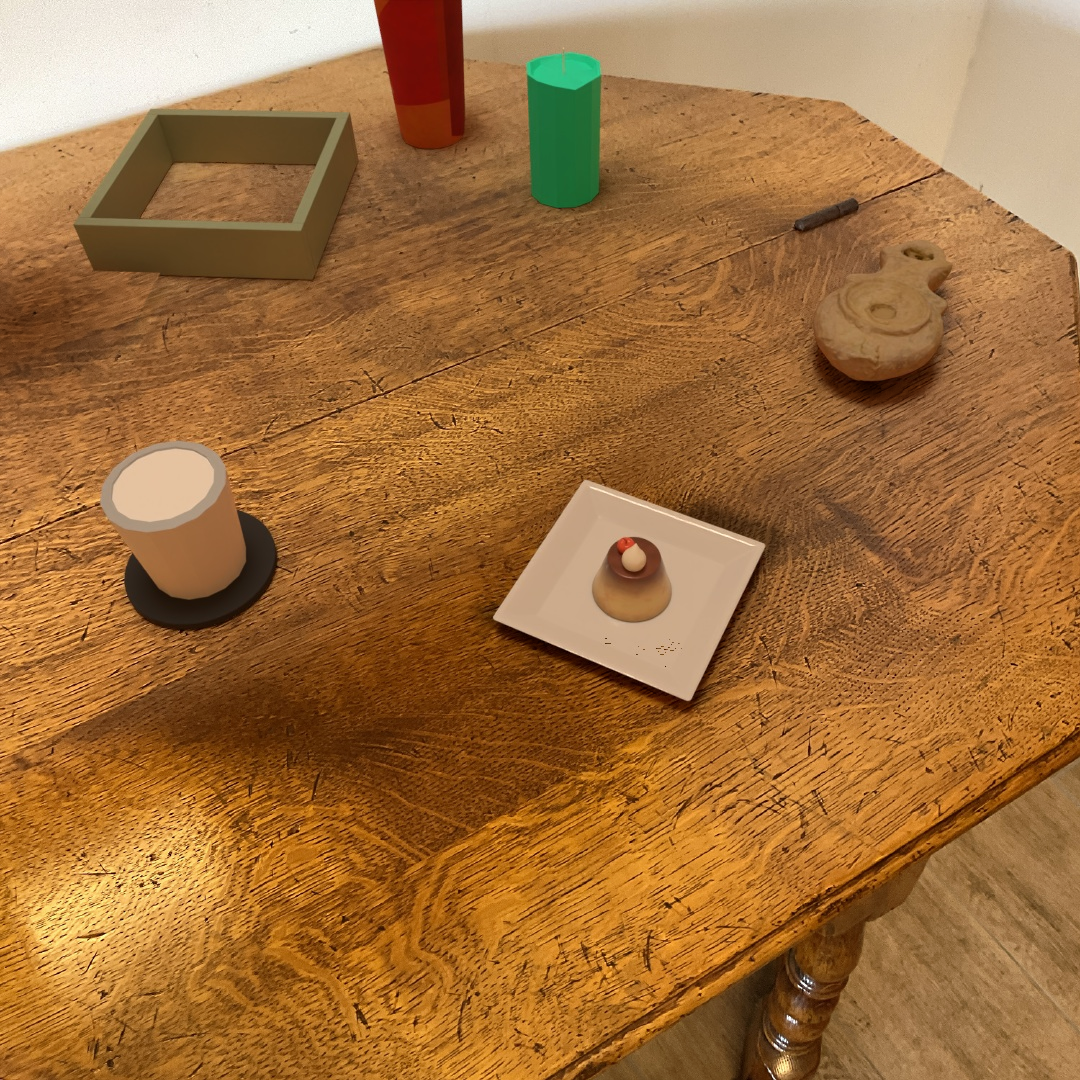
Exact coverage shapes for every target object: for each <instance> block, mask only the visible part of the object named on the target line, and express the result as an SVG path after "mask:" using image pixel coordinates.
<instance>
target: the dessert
mask: <svg viewBox="0 0 1080 1080" xmlns="http://www.w3.org/2000/svg"><path fill="white" fill-rule="evenodd" d="M765 548H766V544H765V543H764V542H761V541H758V540H755V539H753V538H750V537H748V536H744V535H742V534H738V533H737V532H734V531H730V530H727V529H725V528H722V527H719V526H717V525H714V524H711V523H709V522H705V521H703V520H699V519H697V518H694V517H692V516H689V515H687V514H683V513H680V512H677V511H674V510H672V509H670V508H666V507H664V506H660V505H658V504H655V503H653V502H650V501H647V500H644V499H641V498H639V497H636V496H633V495H631V494H627V493H626V492H621V491H619V490H616V489H614V488H611V487H608V486H606V485H602V484H600V483H597V482H594V481H591V480H589V479H584V480H583V481H582V482H581V484H580V486H579V487H578V488H577V490H576V491H575V493H574V494H573V495H572V498H571V499H570V500H569V502H568V504H567V505H566V506H565V508H564V509H563V511H562V512H561V514H560V515H559V516H558V518H557V520H556V521H555V523H554V524H553V526H552V527H551V529H550V530H549V532H548V534H547V535H546V536H545V538H544V539H543V541H542V542H541V544H540V545H539V546H538V548H537V550H536V552H534V554H533V556H532V557H531V559H530V560H529V562H528V564H527V565H526V566H525V568H524V569H523V571H522V572H521V574H520V576H519V577H518V578H517V580H516V582H515V583H514V585H513V586H512V587H511V588H510V590H509V592H508V594H507V595H506V596H505V598H504V600H503V601H502V603H500V606H499V607H498V609H497V610H496V612H495V613H494V615H493V616H492V619H493V620H494V621H496V622H498V623H501V624H503V625H506V626H508V627H511V628H513V629H515V630H517V631H520V632H522V633H525V634H527V635H529V636H532V637H534V638H536V639H539V640H541V641H544V642H545V643H549V644H551V645H553V646H556V647H558V648H560V649H563V650H565V651H568V652H570V653H572V654H574V655H576V656H580V657H582V658H584V659H586V660H588V661H591V662H594V663H596V664H598V665H601V666H603V667H605V668H608V669H610V670H613V671H615V672H618V673H619V674H622V675H624V676H626V677H629V678H631V679H634V680H637V681H639V682H641V683H643V684H646V685H648V686H651V687H653V688H655V689H657V690H661V691H662V692H664V693H667V694H669V695H672V696H675V697H676V698H679V699H682V700H684V701H686V702H690V701H691V700H692V699H693V696H694V694H695V692H696V690H697V688H698V687H699V684H700V682H701V680H702V678H703V676H704V674H705V671H706V670H707V668H708V665H709V664H710V662H711V659H712V658H713V655H714V653H715V651H716V649H717V648H718V645H719V643H720V641H721V639H722V636H723V635H724V632H725V631H726V628H727V626H728V624H729V623H730V620H731V618H732V616H733V614H734V612H735V609H736V608H737V606H738V604H739V602H740V599H741V597H742V595H743V593H744V591H745V589H746V587H747V585H748V583H749V581H750V579H751V577H752V576H753V572H754V571H755V569H756V566H757V564H758V563H759V561H760V559H761V557H762V554H763V552H764V550H765ZM605 638H607V639H605ZM669 639H670V640H669ZM672 642H674V643H672ZM605 643H611V644H605ZM678 643H680V644H678ZM671 644H672V645H671ZM638 646H639V647H638ZM661 646H664V647H661ZM668 647H670V648H668ZM656 648H661V649H656ZM675 648H676V649H675ZM681 648H682V649H681ZM643 649H645V650H643ZM664 649H668V650H664ZM670 650H674V651H670ZM658 651H659V652H658ZM665 652H666V653H665ZM636 654H638V655H636ZM660 654H664V655H660ZM665 666H666V667H665Z"/></svg>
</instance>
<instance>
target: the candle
mask: <svg viewBox="0 0 1080 1080" xmlns="http://www.w3.org/2000/svg"><path fill="white" fill-rule="evenodd" d="M526 86H527V89H526V90H527V109H528V110H527V111H528V113H527V114H528V137H529V138H528V139H529V163H530V164H529V165H530V166H529V167H530V189H531V190H530V191H531V196H532V197H533V198H534V199H535V200H537V201H538V203H540V204H541V205H544V206H549V207H552V208H555V209H563V208H564V209H565V208H566V209H567V208H578V207H579V206H583V205H585V204H588V203H591V202H592V200H594V199H595V198H596V196H597V195H598V194H599V193H600V157H601V156H600V155H601V154H600V152H601V151H600V149H601V148H600V147H601V146H600V145H601V101H602V100H601V97H602V96H601V95H602V69H601V61H600V60H598V59H597V58H594V57H593V56H591V55H590V54H584V53H578V52H573V51H570V52H565V47H562V53H555V54H548V55H544V56H538V57H535V58H533V59H531V60H529V61H527V62H526Z"/></svg>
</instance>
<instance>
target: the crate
mask: <svg viewBox="0 0 1080 1080" xmlns="http://www.w3.org/2000/svg"><path fill="white" fill-rule="evenodd" d="M134 131H135V132H134V133H133V134H132V136H131V137H130V138H129V140H128V142H127V143H126V145H125V146H124V148H123V149H122V151H121V152H120V153H119V155H118V156H117V158H116V159H115V162H113V164H112V166H111V167H110V168H109V170H108V172H107V173H106V175H105V176H104V178H103V179H102V181H101V182H100V184H99V185H98V186H97V188H96V190H95V191H94V193H92V196H91V197H90V199H89V200H88V201H87V202H86V205H85V206H84V207H83V208H82V210H81V211H80V213H79V215H78V216H77V218H76V220H75V221H74V222H73V227H74V230H75V232H76V234H77V236H78V238H79V241H80V243H81V245H82V247H83V250H84V253H85V255H86V257H87V260H88V262H89V263H90V266H91V268H92V271H94V272H117V273H118V272H119V273H151V274H152V273H153V274H154V273H155V274H159V275H158V276H173V277H174V276H176V277H177V276H178V277H207V278H209V277H210V278H214V277H215V278H236V279H237V278H241V279H243V278H244V279H274V280H304V281H307V280H309V281H313V280H314V277H315V274H316V272H317V269H318V267H319V265H320V262H321V260H322V257H323V254H324V251H325V249H326V246H327V244H328V241H329V238H330V235H331V233H332V230H333V228H334V225H335V223H336V220H337V218H338V215H339V212H340V209H341V207H342V204H343V202H344V199H345V196H346V193H347V192H348V188H349V185H350V183H351V181H352V178H353V176H354V173H355V170H356V167H357V165H358V162H359V155H358V149H357V143H356V138H355V133H354V127H353V123H352V116H351V112H350V111H311V110H309V111H308V110H307V111H304V110H302V111H301V110H299V111H298V110H292V111H291V110H253V109H252V110H251V109H247V110H246V109H243V110H242V109H192V108H190V109H189V108H187V109H186V108H150V109H149V110H148V112H147V114H146V115H145V116H144V118H143V119H142V121H141V123H140V124H139V125H138V127H137V128H136V130H134ZM174 162H176V163H216V162H221V164H263V163H264V164H263V165H265V164H267V165H268V164H271V165H274V164H275V165H308V166H309V165H311V166H312V165H313V166H314V165H315V166H314V169H313V172H312V175H311V176H310V179H309V182H308V184H307V186H306V187H305V190H304V193H303V195H302V197H301V200H300V202H299V204H298V206H297V209H296V212H295V214H294V215H293V219H292V221H291V222H266V221H265V222H264V221H263V222H261V221H260V222H259V221H230V220H229V221H226V220H225V221H223V220H222V221H221V220H189V219H188V220H186V219H185V220H184V219H153V218H152V219H151V218H150V219H149V218H147V219H146V218H141V216H143V215H142V214H144V212H145V209H146V208H147V206H148V205H149V203H150V201H151V200H152V199H153V196H154V194H155V193H156V191H157V190H158V188H159V186H160V185H161V183H162V181H163V180H164V179H165V176H166V175H167V173H168V172H169V170H170V168H171V166H172V165H173V164H174ZM222 162H224V163H222ZM225 162H227V163H225Z"/></svg>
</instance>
